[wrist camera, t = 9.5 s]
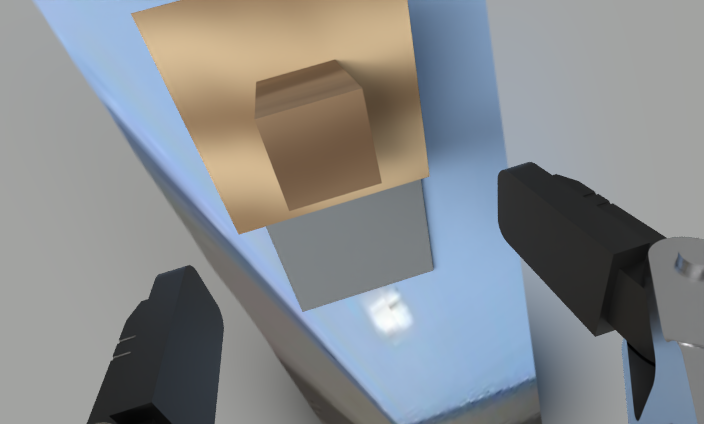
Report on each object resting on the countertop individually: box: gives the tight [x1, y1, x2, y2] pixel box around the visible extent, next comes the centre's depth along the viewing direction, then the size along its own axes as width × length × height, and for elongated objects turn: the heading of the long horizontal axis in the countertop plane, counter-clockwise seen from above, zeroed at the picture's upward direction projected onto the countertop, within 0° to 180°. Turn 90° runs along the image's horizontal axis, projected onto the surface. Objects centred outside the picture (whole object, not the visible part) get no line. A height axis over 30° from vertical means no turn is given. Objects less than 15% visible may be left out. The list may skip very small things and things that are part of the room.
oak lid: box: [131, 0, 429, 234], centre depth 18 cm, size 12×12×7 cm
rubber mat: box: [266, 179, 433, 312], centre depth 35 cm, size 14×14×1 cm
